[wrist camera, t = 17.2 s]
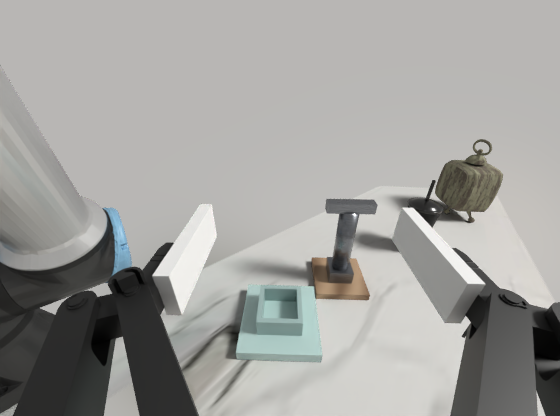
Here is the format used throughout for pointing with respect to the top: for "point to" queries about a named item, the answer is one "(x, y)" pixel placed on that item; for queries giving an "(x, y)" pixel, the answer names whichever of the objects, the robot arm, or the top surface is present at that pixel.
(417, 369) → the top surface
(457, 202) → the tabletop clock
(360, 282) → the walnut pad
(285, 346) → the square socket base
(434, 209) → the drinking cup
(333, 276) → the t key
